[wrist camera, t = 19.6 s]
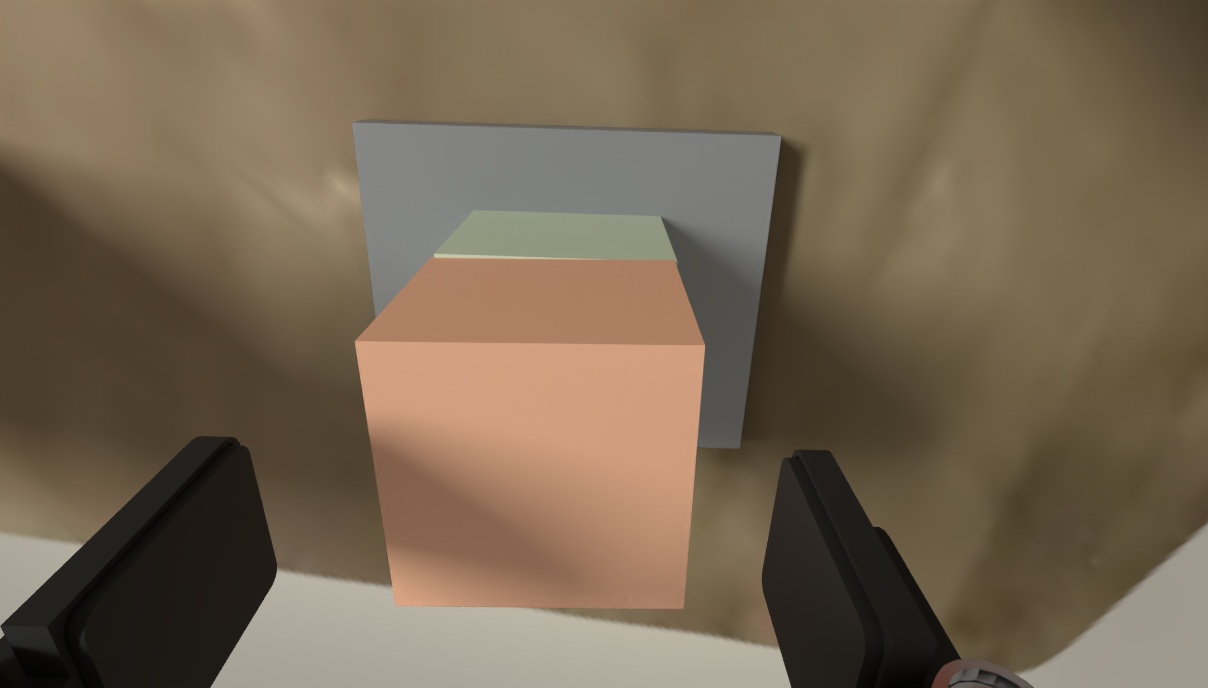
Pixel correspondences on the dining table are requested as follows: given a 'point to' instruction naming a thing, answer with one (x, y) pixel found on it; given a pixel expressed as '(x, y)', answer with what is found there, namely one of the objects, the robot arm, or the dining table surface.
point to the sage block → (558, 237)
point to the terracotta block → (535, 432)
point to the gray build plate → (588, 186)
